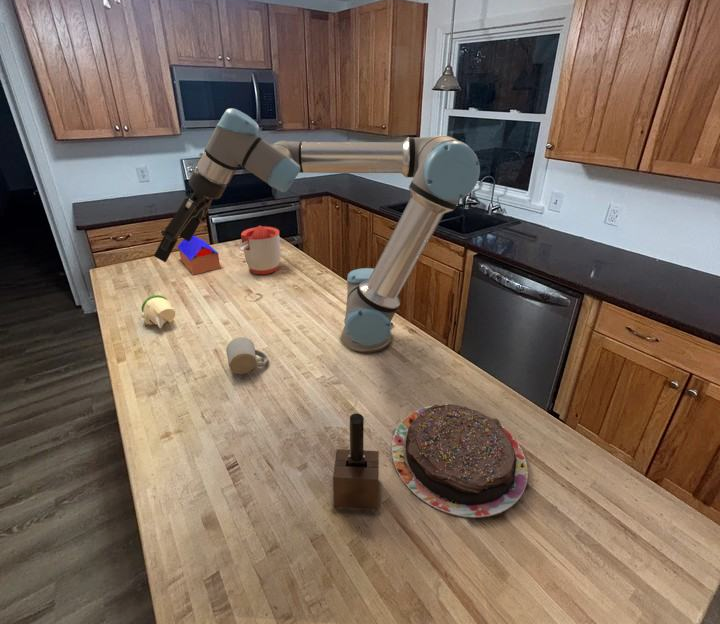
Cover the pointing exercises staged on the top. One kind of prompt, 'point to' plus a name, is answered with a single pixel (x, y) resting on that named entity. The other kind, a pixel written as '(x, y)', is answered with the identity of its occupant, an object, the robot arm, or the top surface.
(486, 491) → the chocolate cake
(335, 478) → the knife block
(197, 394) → the top surface
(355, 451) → the knife
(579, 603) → the top surface
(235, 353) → the ceramic mug
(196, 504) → the top surface
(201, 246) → the house
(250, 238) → the citrus juicer
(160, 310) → the cartoon head
